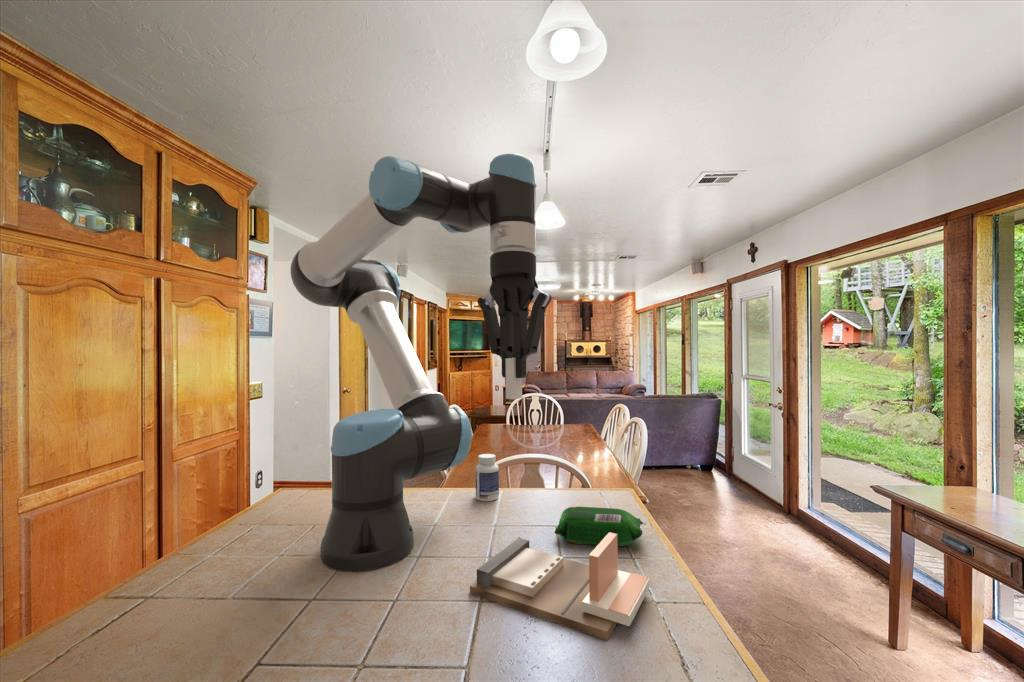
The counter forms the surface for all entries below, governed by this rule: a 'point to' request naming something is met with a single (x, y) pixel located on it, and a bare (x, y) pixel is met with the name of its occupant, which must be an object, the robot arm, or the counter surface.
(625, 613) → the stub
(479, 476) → the pill bottle
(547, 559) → the wooden base board
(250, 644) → the counter surface
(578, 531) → the snack package
